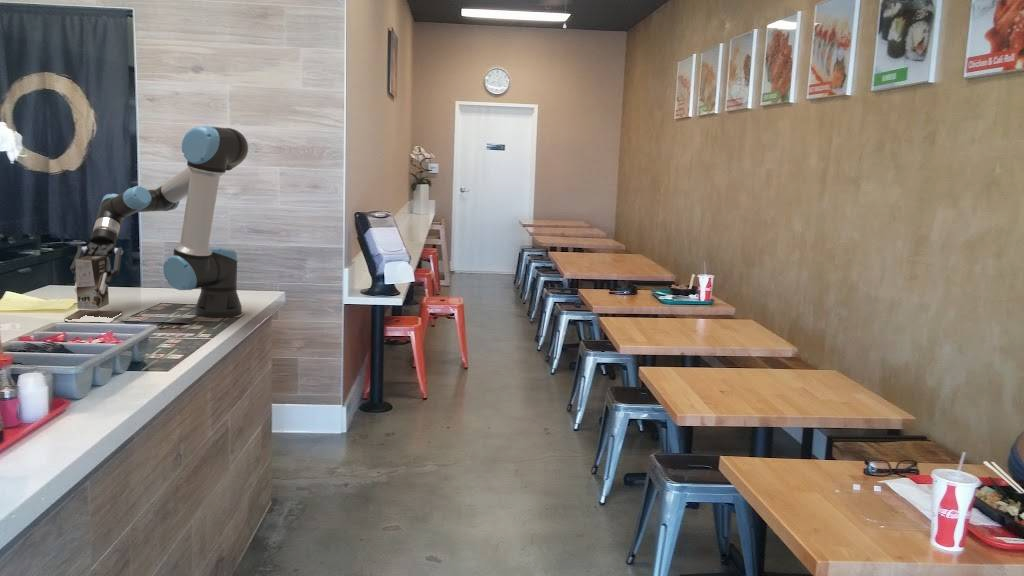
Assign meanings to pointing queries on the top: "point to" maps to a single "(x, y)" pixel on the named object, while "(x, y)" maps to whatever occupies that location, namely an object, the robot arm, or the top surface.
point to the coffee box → (91, 282)
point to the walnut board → (93, 314)
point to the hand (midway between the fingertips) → (89, 291)
